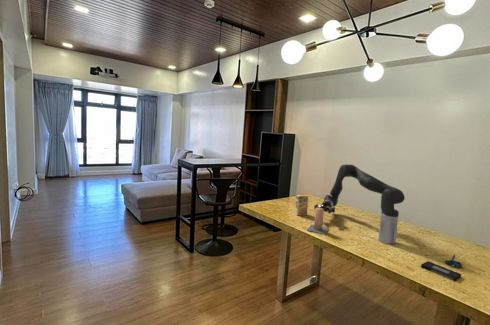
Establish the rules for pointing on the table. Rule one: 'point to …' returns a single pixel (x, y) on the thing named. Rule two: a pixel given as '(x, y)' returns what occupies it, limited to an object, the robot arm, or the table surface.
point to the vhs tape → (441, 271)
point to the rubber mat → (311, 229)
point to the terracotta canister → (318, 219)
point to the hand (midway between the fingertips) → (322, 210)
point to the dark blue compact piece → (453, 262)
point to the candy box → (301, 205)
